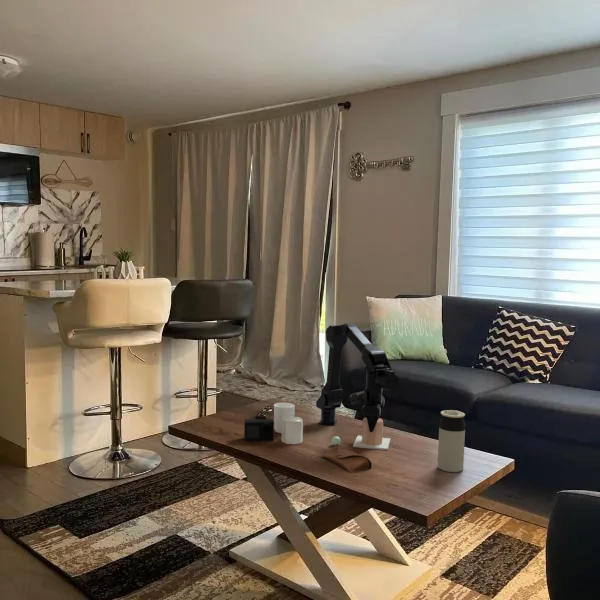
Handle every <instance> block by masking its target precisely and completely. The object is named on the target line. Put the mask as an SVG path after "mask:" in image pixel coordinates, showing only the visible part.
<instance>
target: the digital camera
mask: <svg viewBox="0 0 600 600" xmlns="http://www.w3.org/2000/svg"><path fill="white" fill-rule="evenodd" d="M243 429H244V430H243V432H244V434H243V437H244V442H273V441H274V435H275V434H274V432H275V423H274V418H260V419H258V418H253V419H252V418H249V419H247V418H245V419H244V428H243Z"/></svg>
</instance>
